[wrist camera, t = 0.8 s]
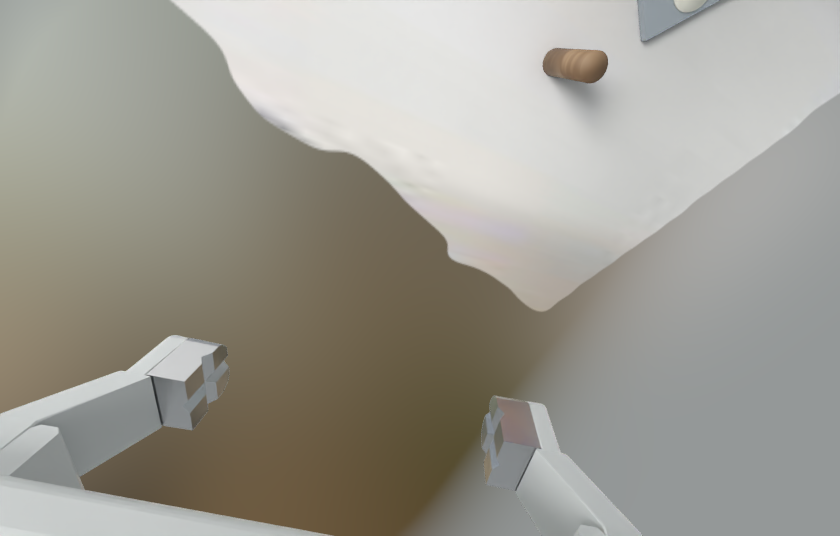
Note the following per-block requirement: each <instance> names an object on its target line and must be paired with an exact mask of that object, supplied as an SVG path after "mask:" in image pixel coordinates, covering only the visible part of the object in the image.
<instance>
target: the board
mask: <svg viewBox="0 0 840 536" xmlns="http://www.w3.org/2000/svg"><path fill="white" fill-rule="evenodd" d="M718 1H720V0H638V12H639V24H640V36H641V41H647V40H649V39H651V38H653V37H654V36H656V35H658V34H660V33H662V32H663V31H665V30H667V29H669V28H671V27H673V26H674V25H676V24H678V23H680V22H682V21H683V20H685V19H687V18H689V17H691V16H692V15H694V14H696V13H698V12H700V11H702V10H703V9H705V8H707V7H709V6H711V5H712V4H714V3H716V2H718Z"/></svg>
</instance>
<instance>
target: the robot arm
mask: <svg viewBox="0 0 840 536" xmlns="http://www.w3.org/2000/svg"><path fill="white" fill-rule="evenodd" d="M227 356H228V354H227V347H226V346H224V345H221V344H217V343H212V342H207V341H203V340H198V339H193V338H186V337H182V336H177V335H173V336H169V337H168V338H166V339H165V340H164V341H163V342H161V343H160V344H159V345H158V346H157V347H155V348H154V349H153V350H152V351H150V352H149V353H148V354H147V355H146V356H144V357H143V358H142V359H141V360H140V361H138V362H137V363H136V364H135V365H133V366H132V367H131V368H130V369H129V370H127V371H126V372H125V371H118V372H115V373H112V374H110V375H107V376H104V377H101V378H98V379H96V380H93V381H90V382H87V383H85V384H82V385H79V386H76V387H74V388H71V389H68V390H65V391H62V392H59V393H57V394H54V395H51V396H48V397H46V398H43V399H40V400H37V401H34V402H31V403H29V404H26V405H23V406H20V407H18V408H15V409H12V410H9V411H6V412H4V413H1V414H0V536H331V535H326V534H321V533H315V532H310V531H305V530H299V529H294V528H288V527H283V526H277V525H272V524H266V523H261V522H256V521H250V520H245V519H239V518H234V517H228V516H223V515H217V514H212V513H207V512H201V511H196V510H189V509H185V508H180V507H174V506H169V505H163V504H158V503H152V502H147V501H142V500H136V499H131V498H125V497H120V496H114V495H109V494H104V493H98V492H93V491H87V490H84V487H83V485H82V483H81V480H80V478H79V477H80V476H82V475H83V474H85V473H86V472H88V471H90V470H92V469H93V468H95V467H96V466H98V465H100V464H101V463H103V462H105V461H107V460H108V459H110V458H111V457H113V456H115V455H116V454H118V453H120V452H121V451H123V450H125V449H126V448H128V447H129V446H131V445H133V444H135V443H136V442H138V441H140V440H141V439H143V438H145V437H146V436H148V435H150V434H151V433H153V432H155V431H156V430H158V429H159V428H161V427H162V426H161V425H163V426H169V427H175V428H182V429H188V430H193V429H194V428H195V427H196V425H197V424H198V423H199V422H200V420H201V419H202V418H203V417H204V415H205V414H206V413H207V412H208V403H210V402H212V401H214V400H216V399H218V398H219V396H220V395H221V394H222V392H223V391H224V389H225V387H226V385H227V382H228V379H229V367H228V365H227V364H226V363H225V362H224V359H225V358H226V357H227ZM489 407H490V413H488V414H487V415H485V418H484V421H483V426H482V432H481V433H482V434H481V436H482V437H481V440H482V449H483V450H484V451H485V453H486V457H485V460H484V462H483V463H484V471H485V481H486V485H490V486H494V487H498V488H503V489H508V490H512V491H516V492H515V493H516V495H517V497H518V498H519V500H520V501H521V503H522V505H523V506H524V508H525V510H526V511H527V513H528V514H529V516H530V518H531V519H532V521H533V523H534V524H535V526H536V528H537V529H538V531H539V532H540V534H541V536H643V535H642V534H641V533H640V532H639V531H638V530H637V529H636V528H635V527H634V525H633V524H632V523H631V522H630V521H629V520H628V519H627V518H626V517H625V516H624V515H623V514H622V513H621V512H620V511H619V510H618V508H617V507H616V506H615V505H614V504H613V503H612V502H611V501H610V500H609V499H608V498H607V497H606V496H605V495H604V494H603V493H602V492H601V491H600V489H599V488H598V487H597V486H596V485H595V484H594V483H593V482H592V481H591V480H590V479H589V478H588V477H587V476H586V474H584V472H583V471H582V470H581V469H580V468H579V467H578V466H577V465H576V464H575V463H574V462H573V461H572V460H571V459H570V457H569V456H568V455H566V454H564V453H561V451H560V448H559V445H558V442H557V439H556V436H555V434H554V430H553V427H552V424H551V421H550V418H549V415H548V412H547V409H546V407H545V406H544V404H540V403H534V402H528V401H522V400H516V399H511V398H505V397H500V396H493V397H492V399H491V401H490V404H489Z"/></svg>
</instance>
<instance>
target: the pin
mask: <svg viewBox="0 0 840 536" xmlns="http://www.w3.org/2000/svg"><path fill="white" fill-rule="evenodd" d="M607 66H608V58H607V56H606V54H605V53H604V52H603V51H599V50H581V49H561V48H555V49H552V50H550V51H549V52H548V53H547V54H546V56H545V58H544V61H543V70H544V72H545V73H546V74H547V75H549V76H554V77H559V78H564V79H570V80H575V81H580V82H585V83H594V82H596V81H598V80H599V79H600V78H601V77H602V76H603V75H604V73H605V72H606V69H607Z"/></svg>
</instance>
